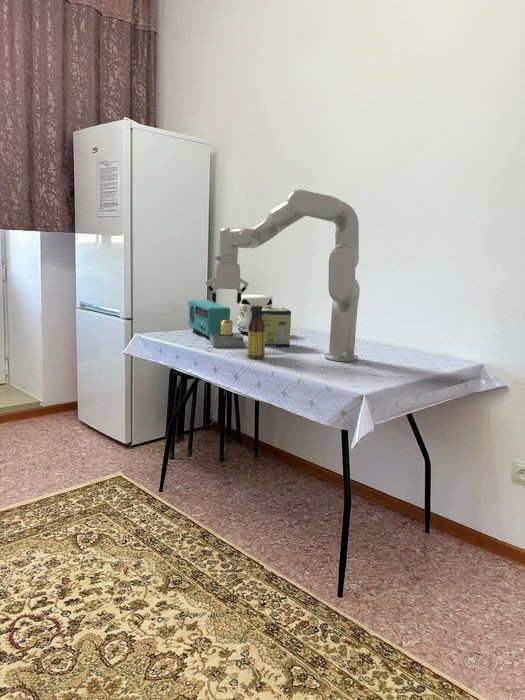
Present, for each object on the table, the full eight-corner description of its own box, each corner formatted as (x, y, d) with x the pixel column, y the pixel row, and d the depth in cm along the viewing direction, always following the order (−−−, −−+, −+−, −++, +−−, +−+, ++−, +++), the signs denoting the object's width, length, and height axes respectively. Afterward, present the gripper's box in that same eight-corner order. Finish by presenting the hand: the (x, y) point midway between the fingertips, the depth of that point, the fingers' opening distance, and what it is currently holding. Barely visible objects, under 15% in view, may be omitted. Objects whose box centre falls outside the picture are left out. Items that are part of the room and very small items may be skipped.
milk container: (229, 332, 257) (230, 295, 254) (256, 329, 269) (257, 293, 265) (253, 337, 245) (254, 298, 241) (280, 334, 256) (282, 297, 253)
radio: (186, 330, 257) (186, 299, 255) (206, 330, 261) (207, 299, 259) (206, 343, 227) (207, 308, 224) (229, 342, 231) (230, 307, 228)
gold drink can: (232, 345, 217) (233, 321, 215) (221, 345, 216) (221, 321, 214) (231, 343, 222) (231, 319, 220) (219, 343, 221) (220, 319, 219)
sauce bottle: (256, 355, 204) (258, 303, 200) (267, 358, 200) (270, 305, 196) (243, 357, 200) (245, 304, 196) (255, 360, 195) (257, 306, 191)
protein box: (248, 343, 230) (249, 307, 227) (283, 343, 234) (284, 307, 231) (254, 347, 220) (255, 310, 217) (290, 347, 224) (292, 310, 221)
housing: (243, 349, 215) (243, 337, 214) (213, 349, 212) (213, 337, 211) (238, 344, 226) (238, 332, 225) (209, 344, 224) (210, 332, 223)
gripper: (207, 259, 207) (206, 303, 210) (251, 261, 211) (249, 304, 214) (205, 258, 214) (204, 301, 217) (247, 260, 218) (245, 302, 221)
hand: (226, 303), depth 216 cm, fingers open, 9 cm apart
